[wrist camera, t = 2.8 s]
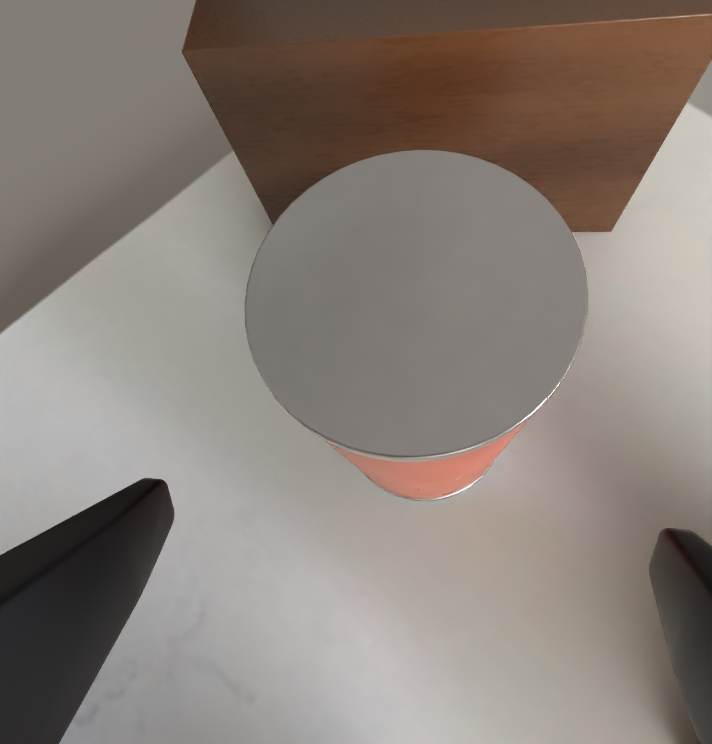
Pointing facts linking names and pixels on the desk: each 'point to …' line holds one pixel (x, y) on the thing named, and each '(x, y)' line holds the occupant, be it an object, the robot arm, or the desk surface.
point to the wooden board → (452, 88)
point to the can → (417, 314)
